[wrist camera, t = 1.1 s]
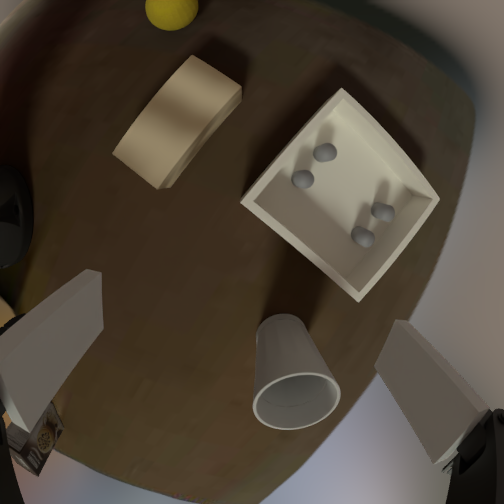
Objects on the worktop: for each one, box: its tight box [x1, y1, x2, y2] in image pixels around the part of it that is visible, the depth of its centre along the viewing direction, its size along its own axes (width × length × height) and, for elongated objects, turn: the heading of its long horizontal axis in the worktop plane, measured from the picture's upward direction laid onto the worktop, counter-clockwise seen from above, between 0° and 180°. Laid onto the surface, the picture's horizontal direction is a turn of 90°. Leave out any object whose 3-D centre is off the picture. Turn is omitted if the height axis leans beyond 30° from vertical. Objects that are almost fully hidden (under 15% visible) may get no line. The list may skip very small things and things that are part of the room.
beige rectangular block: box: [112, 55, 242, 189], centre depth 24 cm, size 12×6×5 cm, turn 141°
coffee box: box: [6, 403, 64, 476], centre depth 30 cm, size 9×6×16 cm
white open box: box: [240, 88, 440, 303], centre depth 26 cm, size 16×15×5 cm
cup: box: [253, 314, 340, 430], centre depth 27 cm, size 8×8×12 cm
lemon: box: [145, 0, 198, 31], centre depth 19 cm, size 6×6×8 cm
